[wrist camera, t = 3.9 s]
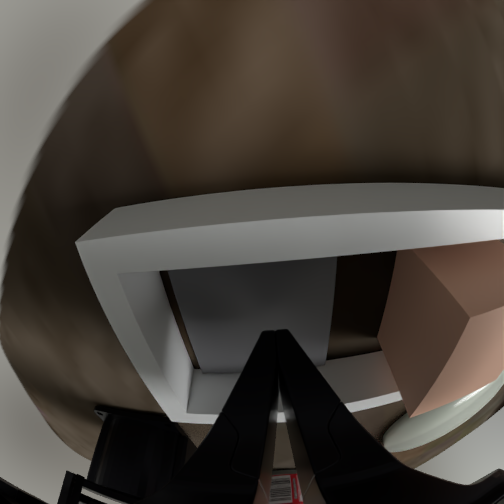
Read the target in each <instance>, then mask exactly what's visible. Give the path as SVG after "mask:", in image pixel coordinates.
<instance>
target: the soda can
mask: <svg viewBox="0 0 504 504" xmlns="http://www.w3.org/2000/svg"><path fill="white" fill-rule="evenodd" d="M269 504H303V498H302V494H301V490H300V485H299V480H298V476H297V471H296V470H278V471H272V479H271V488H270V496H269Z"/></svg>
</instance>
